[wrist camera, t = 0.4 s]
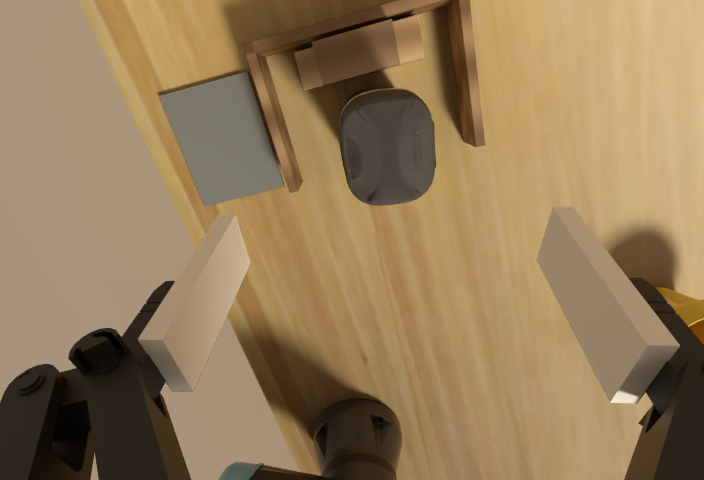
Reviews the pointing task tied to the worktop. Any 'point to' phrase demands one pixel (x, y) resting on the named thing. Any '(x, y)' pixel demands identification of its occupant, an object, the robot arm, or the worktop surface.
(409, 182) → the coffee jar
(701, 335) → the plant pot
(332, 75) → the offcut top
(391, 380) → the worktop surface
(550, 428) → the worktop surface
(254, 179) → the mat
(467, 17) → the wooden open enclosure
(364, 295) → the worktop surface
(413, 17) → the offcut middle
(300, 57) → the offcut bottom
